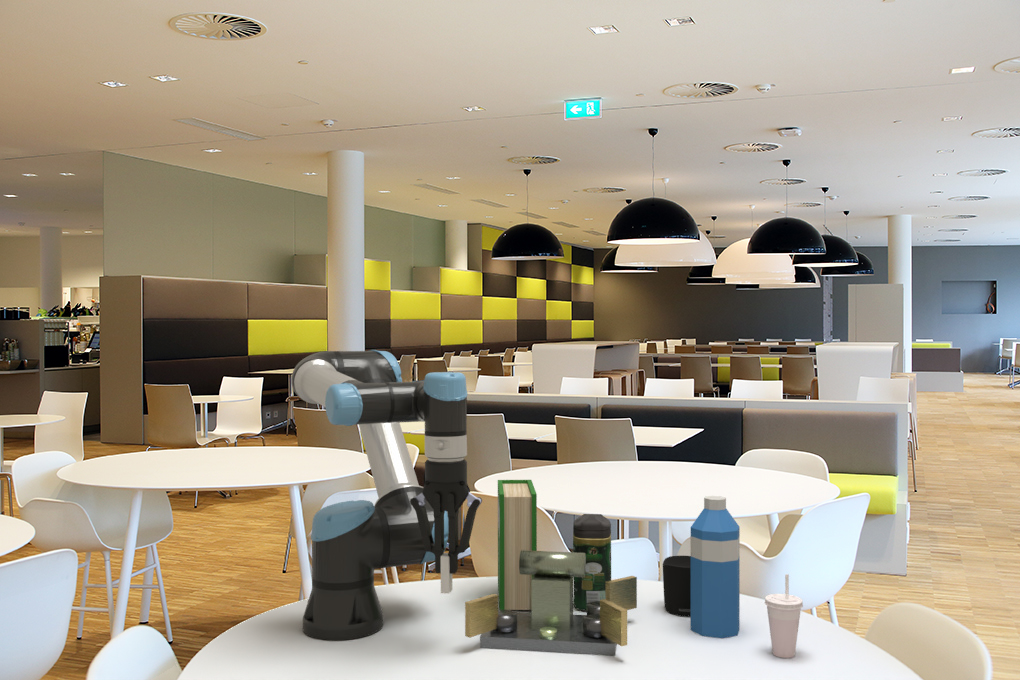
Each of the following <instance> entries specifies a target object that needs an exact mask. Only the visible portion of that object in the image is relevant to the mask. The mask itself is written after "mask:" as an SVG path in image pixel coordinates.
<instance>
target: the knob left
mask: <svg viewBox="0 0 1020 680" xmlns="http://www.w3.org/2000/svg"><path fill="white" fill-rule="evenodd" d="M464 609H465V610H464V622H465V623H464V624H465V625H464V630H465V631H464V635H465V637H466V638H473V637H476V636H477V637H478V636H479V635H480V636H481V634H482V633H485V632H488V631H491V630H493V631H497V632H511V631H514V630H516V629H517V612H518V611H517V612H515V611H516V610H499V597H498V594H495V593H491V594H487V595H484V596H482V597H478V598H475V599H471V600H467V601H465V602H464Z"/></svg>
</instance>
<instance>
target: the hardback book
mask: <svg viewBox="0 0 1020 680" xmlns="http://www.w3.org/2000/svg"><path fill="white" fill-rule="evenodd" d="M537 495H538V494H537V491H536V489H535V486H534V483H533V481H532V479H497V595H498V610H512V611H517V610H518V611H519V610H520V611H521V610H522V611H526V610H528V611H532V578H533V576H534V575H521V574H520V572H519V557H520V552H521V550H527V551H538V548H537V543H538V542H537V541H538V540H537V538H538V536H537V534H538V533H537V532H538V531H537V530H538V529H537V526H538V524H537V521H538V520H537V517H538V516H537V515H538V514H537V513H538V512H537V511H538V509H537V502H538V501H537V497H538V496H537Z"/></svg>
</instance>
